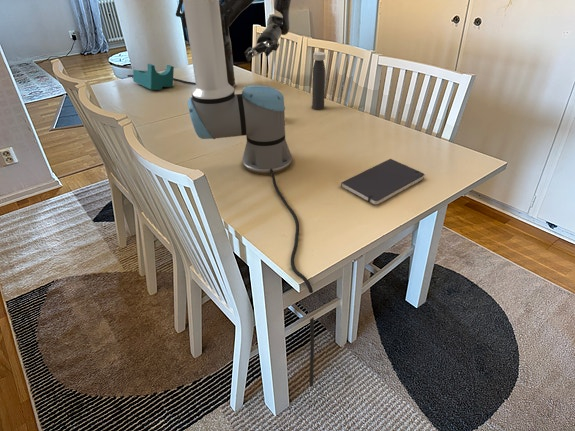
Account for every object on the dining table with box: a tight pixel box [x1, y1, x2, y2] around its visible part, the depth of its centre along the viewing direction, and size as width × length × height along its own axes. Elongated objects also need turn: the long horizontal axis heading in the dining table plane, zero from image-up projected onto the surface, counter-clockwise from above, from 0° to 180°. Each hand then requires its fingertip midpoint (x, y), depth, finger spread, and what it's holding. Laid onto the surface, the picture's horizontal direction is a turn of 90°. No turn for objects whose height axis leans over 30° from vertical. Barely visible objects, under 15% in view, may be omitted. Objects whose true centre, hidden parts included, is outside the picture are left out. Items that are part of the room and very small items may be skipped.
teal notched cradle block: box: [132, 63, 175, 91], centre depth 189 cm, size 18×11×10 cm, turn 43°
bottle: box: [311, 60, 326, 111], centre depth 157 cm, size 5×5×21 cm
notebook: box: [340, 158, 425, 206], centre depth 114 cm, size 13×2×21 cm
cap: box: [312, 51, 326, 61], centre depth 151 cm, size 4×4×2 cm
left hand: (256, 56), depth 162 cm, fingers open, 8 cm apart
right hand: (208, 36), depth 147 cm, fingers open, 13 cm apart
